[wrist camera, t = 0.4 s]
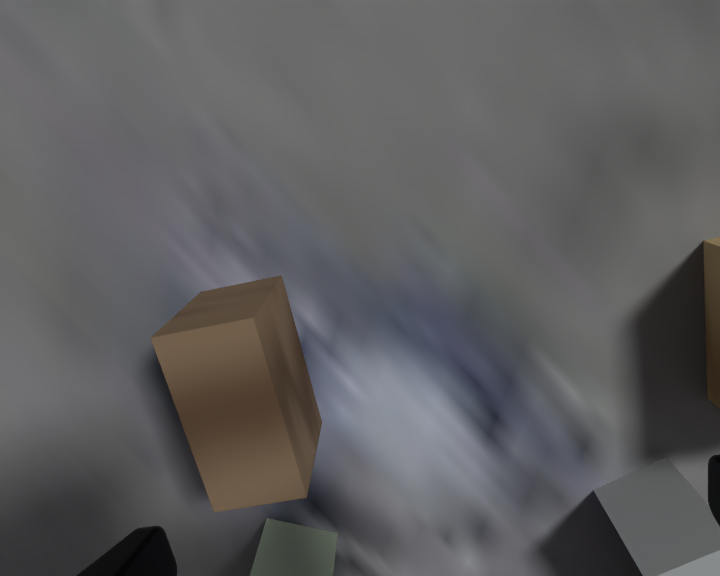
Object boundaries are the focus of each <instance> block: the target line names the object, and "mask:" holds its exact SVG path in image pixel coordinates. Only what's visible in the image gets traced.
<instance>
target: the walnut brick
mask: <svg viewBox="0 0 720 576" xmlns="http://www.w3.org/2000/svg"><path fill="white" fill-rule="evenodd" d="M151 341H152V343H153V346H154V349H155V352H156V354H157V357H158V360H159V363H160V365H161V368H162V371H163V373H164V376H165V379H166V382H167V384H168V387H169V390H170V393H171V395H172V398H173V401H174V404H175V406H176V409H177V412H178V415H179V417H180V420H181V423H182V426H183V428H184V431H185V434H186V437H187V439H188V442H189V445H190V448H191V450H192V453H193V456H194V459H195V461H196V464H197V467H198V470H199V472H200V475H201V478H202V481H203V483H204V486H205V489H206V492H207V494H208V497H209V500H210V503H211V505H212V508H213V511H214V512H219V511H226V510H232V509H238V508H245V507H251V506H257V505H264V504H270V503H276V502H283V501H289V500H295V499H302V498H307V494H308V489H309V484H310V479H311V474H312V469H313V464H314V460H315V455H316V450H317V445H318V440H319V435H320V430H321V425H322V421H321V417H320V414H319V410H318V406H317V403H316V399H315V395H314V392H313V388H312V384H311V381H310V377H309V374H308V370H307V366H306V363H305V359H304V355H303V352H302V348H301V344H300V341H299V337H298V333H297V330H296V326H295V322H294V319H293V315H292V312H291V308H290V304H289V301H288V297H287V293H286V290H285V286H284V282H283V279H282V276H277V277H272V278H267V279H262V280H257V281H252V282H247V283H242V284H237V285H233V286H228V287H223V288H218V289H213V290H208V291H203V292H200V293H199V294H198V295H197V296H196V297H195V298H194V299H193V300H192V301H190V302H189V303H188V304H187V305H186V306H185V307H184V308H183V309H182V310H181V311H180V312H178V313H177V314H176V315H175V316H174V317H173V318H172V319H171V320H170V321H169V322H168V323H166V324H165V325H164V326H163V327H162V328H161V329H160V330H159V331H158V332H157V333H155V334H154V335H153V336H152V337H151Z"/></svg>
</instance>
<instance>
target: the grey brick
mask: <svg viewBox="0 0 720 576" xmlns="http://www.w3.org/2000/svg"><path fill="white" fill-rule="evenodd" d="M593 491H594V492H595V494H596V496H597V497H598V499H599V501H600V503H601V504H602V506H603V508H604V510H605V511H606V513H607V515H608V516H609V518H610V520H611V522H612V523H613V525H614V527H615V529H616V530H617V532H618V534H619V535H620V537H621V539H622V541H623V542H624V544H625V546H626V548H627V549H628V551H629V553H630V554H631V556H632V558H633V560H634V561H635V563H636V565H637V567H638V568H639V570H640V572H641V573H642V575H643V576H720V526H719V525H718V523H717V521H716V520H715V518H714V516H713V514H712V512H711V510H710V507H709V505H708V504H707V503H706V502H705V501H704V500H703V498H702V497H701V496H700V495H699V494H698V493H697V491H696V490H695V489H694V488H693V487H692V486H691V484H690V483H689V482H688V481H687V480H686V479H685V477H684V476H683V475H682V474H681V473H680V472H679V471H678V469H677V468H676V467H675V466H674V465H673V464H672V462H671V461H670V460H669V459H668V458H667V457H665V458H663V459H661V460H658V461H656V462H654V463H652V464H650V465H647V466H645V467H643V468H641V469H639V470H636V471H634V472H632V473H630V474H628V475H626V476H623V477H621V478H619V479H617V480H615V481H612V482H610V483H608V484H606V485H604V486H601V487H599V488H597V489H595V490H593Z"/></svg>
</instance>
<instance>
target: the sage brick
mask: <svg viewBox="0 0 720 576" xmlns="http://www.w3.org/2000/svg"><path fill="white" fill-rule="evenodd" d="M337 536H338V533H335V532H331V531H326V530H321V529H316V528H312V527H307V526H302V525H297V524H293V523H288V522H283V521H279V520H274V519H269V518H267V519H266V522H265V526H264V529H263V533H262V536H261V539H260V543H259V546H258V549H257V553H256V556H255V560H254V563H253V566H252V570H251V573H250V576H333V573H334V564H335V554H336V545H337Z"/></svg>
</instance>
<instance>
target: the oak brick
mask: <svg viewBox="0 0 720 576" xmlns="http://www.w3.org/2000/svg"><path fill="white" fill-rule="evenodd" d="M703 245H704V282H705V319H706V357H707V394H708V399H709V400H710V401H711V402H713V403H714V404H715V405H716V406H717V407H719V408H720V238H715V239H710V240H704V241H703Z"/></svg>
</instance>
